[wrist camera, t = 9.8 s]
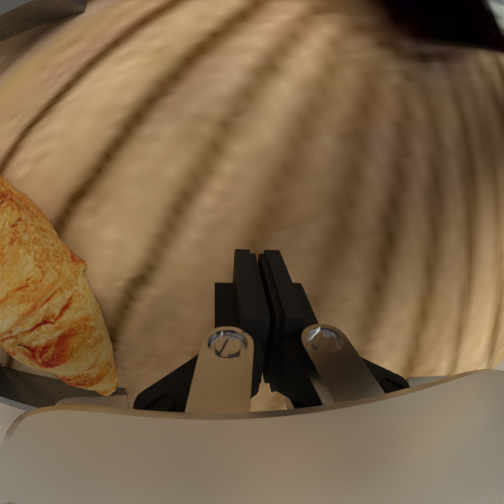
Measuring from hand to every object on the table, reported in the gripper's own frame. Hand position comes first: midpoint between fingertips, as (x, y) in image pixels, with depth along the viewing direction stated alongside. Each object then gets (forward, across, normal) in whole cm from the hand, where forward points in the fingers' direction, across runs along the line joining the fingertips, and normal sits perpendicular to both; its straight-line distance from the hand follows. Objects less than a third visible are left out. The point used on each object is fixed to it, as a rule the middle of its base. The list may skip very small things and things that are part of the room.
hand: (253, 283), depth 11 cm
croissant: (+5, +14, +2) cm, 15 cm away
